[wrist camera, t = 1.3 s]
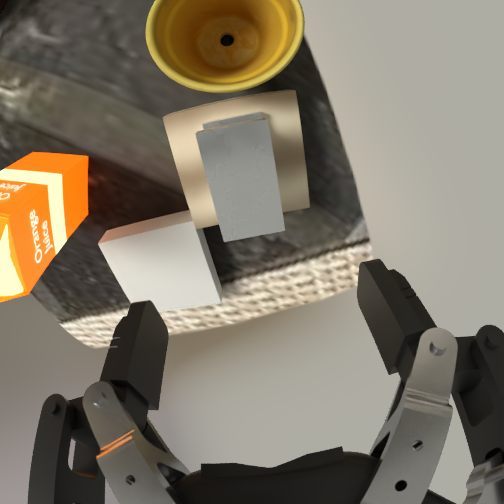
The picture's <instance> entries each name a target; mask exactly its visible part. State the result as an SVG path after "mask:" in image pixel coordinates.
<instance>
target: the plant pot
mask: <svg viewBox="0 0 504 504" xmlns="http://www.w3.org/2000/svg"><path fill="white" fill-rule="evenodd" d="M303 34H304V14H303V10H302V6H301V4H300V2H299V0H155V2H154V4H153V5H152V7H151V10H150V12H149V15H148V18H147V23H146V41H147V45H148V49H149V52H150V54H151V56H152V58H153V59H154V61H155V63H156V64H157V65H158V67H159V68H160V69H161V70H162V71H163V72H164V73H165V74H166V75H167V76H169V77H170V78H171V79H173V80H175V81H176V82H178V83H180V84H182V85H184V86H186V87H189V88H192V89H195V90H199V91H204V92H212V93H229V92H237V91H242V90H246V89H249V88H253V87H255V86H258V85H260V84H262V83H264V82H266V81H268V80H270V79H271V78H273V77H274V76H276V75H277V74H278V73H280V72H281V71H282V70H283V69H284V68H285V67H286V66H287V65H288V64H289V63H290V62H291V60H292V59H293V57H294V56H295V54H296V53H297V51H298V49H299V47H300V44H301V42H302V38H303ZM224 35H231V36H232V37H233V38H234V42H233V44H232V45H230V46H224V45H222V44H221V38H222V37H223V36H224Z"/></svg>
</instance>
